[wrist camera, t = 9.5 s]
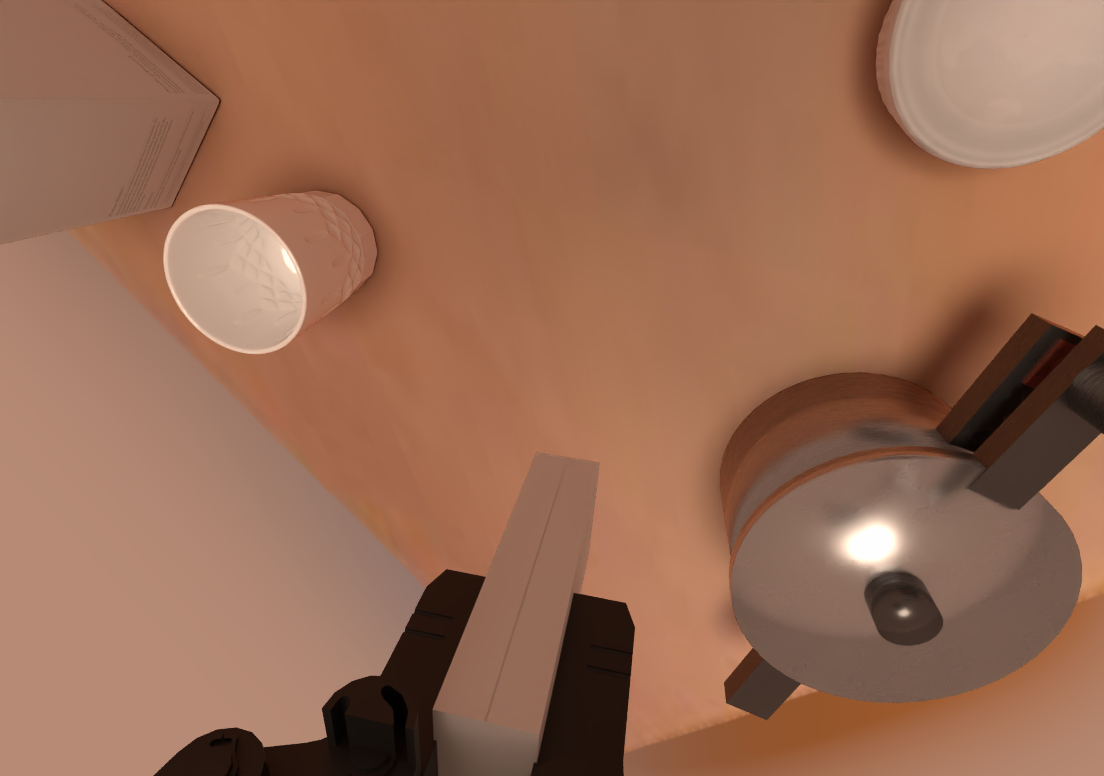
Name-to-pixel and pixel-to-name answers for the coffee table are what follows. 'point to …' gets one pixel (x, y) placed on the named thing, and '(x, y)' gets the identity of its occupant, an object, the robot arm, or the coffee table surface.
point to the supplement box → (89, 118)
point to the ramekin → (993, 77)
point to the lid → (923, 554)
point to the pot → (865, 446)
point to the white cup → (267, 265)
